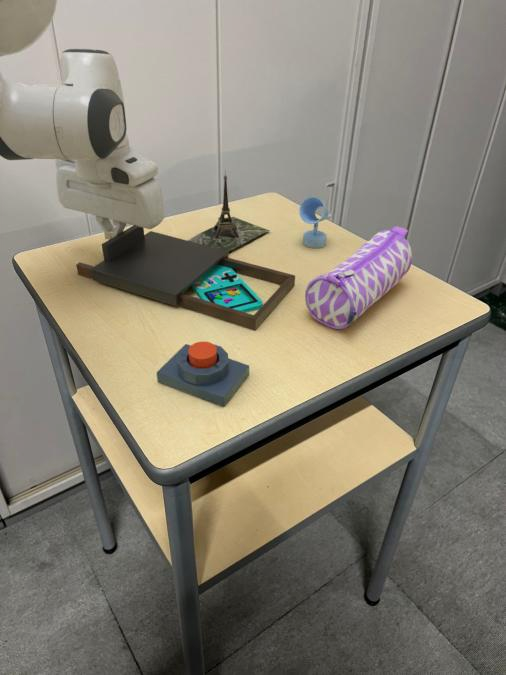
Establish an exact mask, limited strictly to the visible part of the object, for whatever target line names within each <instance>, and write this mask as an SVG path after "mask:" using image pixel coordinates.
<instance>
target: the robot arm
mask: <svg viewBox="0 0 506 675" xmlns="http://www.w3.org/2000/svg"><path fill="white" fill-rule="evenodd" d="M57 4H58V0H0V58H2V57H7V56H11V55H16V54H19V53H21V52H23V51H25V50H27V49H29V48H30V47H32V46H33V45H34V44H36V42H37V41H39V40H40V39H41V38H42V37H43V35H44V34H45V32H47V30H48V29H49V27H50V25H51V24H52V21H53V19H54V17H55V16H54V15H55V12H56V9H57ZM59 69H60V70H59V71H60V80H61V81H60V82H61V84H44V83H24V82H23V83H22V82H18V81H13V80H9V79H7V78H5V77H4V76H3V75H2V73H1V71H0V157H2V158H3V159H5V160H6V161H25V160H34V159H37V160H38V159H39V160H55V168H56V174H55V176H56V177H55V179H56V192H57V198H58V202H59V203H60V204H61V206H62V207H63V208H65V209H69V210H73V211H75V212H76V211H77V212H80V213H84V214H87V215H92V216H95V218H96V221H97V223H98V225H99V226H100V228H101V229H102V231H103V234H104V239H105V240H107V241H108V240H110V239H111V238H113V237H115V236H116V235H118V234H120V233H121V232H123V231H125V228H126V226H127V224H128V225H131V226H133V225H135V226H139V227H143V228H144V229H146V230H152V229H155V228H156V227H157V226H159V225H161V223H162V222H163V220H164V219H165V205H164V197H163V191H162V187H161V184H160V183H159V181H158V180H157V179H156V176H157V175H158V174H159V167H158V164H157V163H156V161H155V162H154V161H153V160H151V159H150V158H148V157H146V156H144V155H143V154H141V153H140V152H138V151H137V150H136V149H134V148H132V147H131V146H130V142H129V137H128V134H127V118H126V107H125V100H124V99H125V98H124V93H123V88H122V83H121V78H120V75H119V70H118V67H117V63H116V60H115V58H114V55H112V53H109V52H108V51H106V50H101V49H90V48H87V49H86V48H69V49H64V50H63V51H62V52H60V55H59ZM111 220H112V222H111ZM114 226H115V227H114Z"/></svg>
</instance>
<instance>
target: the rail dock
mask: <svg viewBox="0 0 506 675" xmlns="http://www.w3.org/2000/svg"><path fill="white" fill-rule="evenodd" d="M216 265H221V266H224V267H228V268H232V269H233V270H234V272H235V273H236V274H238V275H243V276H247V277H251V278H255V279H258V280H261V281H265V282H269V283H273V284H276V285H279V287H278V288H277V289H276V290H275V291H274V292H273V294H272V295H271V296H270V297H269V298H268V299H267V300H266V301H265V303H263V304H262V307H261V308H260V309H257V310H256V312H255V313H254V314H251V313H249V312H246V313H245V312H242V311H239V310H235V309H232V308H229V307H225V306H222V305H219V304H215V303H212V302H209V301H206V300H202V299H200V298H199V297H196V296H192V295H189V294H186V293H184V292H183V293H182V294H180V295H179V296H178V299H179V305H178V306H177V307H180V308H183V309H186V310H190V311H192V312H196V313H199V314H203V315H205V316H207V317H208V316H209V317H212V318H214V319H218V320H220V321H224V322H228V323H231V324H235V325H237V326H240V327H244V328H246V329H250V330H253V331H256V330H257V329H258V328H259V327H260V326H261V324H263V322H264V321H266V319H267V318H268V316H270V314H271V313H272V312H273V311H274V310H275V308H276V307H277V306H278V305H279V304H280V303H281V302H282V300H283V299H284V298H285V297H286V296H287V295H288V293H289V292H290V291H291V290H293V288H294V287H295V286H296V285H295V284H296V275H295V274H292V273H288V272H284V271H281V270H276V269H274V268H273V269H272V268H268V267H264V266H261V265H257V264H254V263H250V262H246V261H242V260H239V259H235V258H231V257H229V258H228V257H225V258H223V259H222V260H221V261H220V262H219V263H217V264H216ZM94 266H95V265H90V264H87V263H83V262H81V261H79V262H78V263H76V264H75V267H76V273H77V275H78V276H82V277H84V278H87V279H91V280H93V278H92V273H91V268H93V267H94Z"/></svg>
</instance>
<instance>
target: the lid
mask: <svg viewBox="0 0 506 675" xmlns="http://www.w3.org/2000/svg"><path fill="white" fill-rule="evenodd" d="M144 229H145V228H143V227H139V226H135V225H131V226H130V227H128V228H126V229H124V230H123V232H121V233H120V234H118V235H116V236H115V237H113V238H111V239H110V240H108V239H107V240H106V241H104V242H102V243H101V249H102V256H103V260H102V261H101V262H99V263H97V264H95V265H93V266H94V267H93V268H91V273H92V278H93V279H92V281H94V282H98V283H101V284H103V285H107V286H111V287H113V288H117V289H120V290H123V291H126V292H130V293H133V294H135V295H139V296H143V297H146V298H149V299H151V300H155V301H158V302H161V303H164V304H168V305H171V306H174V307H179V306H178V305H179V299H178V296H179V295H180V294H182V293H183V294H184V292H185V291H187V290H188V289H189V288H191V285H192V284H194V283H195V282H196V281H197V280H198V279H200V278H201V277H202V276H203V275H204V274H206V273H207V272H208V271H209V270H210V269H212V268H213V267H214V266H215V265H216V264H217V263H219V262H220V261H221V260H222V259H223V258H225V257H228V258H230V254H229V253H230V251H225V250H222V249H218V248H214V247H210V246H206V245H202V244H199V243H195V242H191V241H187V240H188V239H184V238H180V237H175V236H171V235H168V234H164V233H160V232H156V231H153V230H150V231H148V232H146V233H145V230H144Z"/></svg>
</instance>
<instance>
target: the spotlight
mask: <svg viewBox="0 0 506 675" xmlns="http://www.w3.org/2000/svg"><path fill="white" fill-rule="evenodd" d="M321 207H322V208H323V211H322V215H321V216H320V218H318V217H317V215H316V211H317V209H318V208H321ZM298 212H299V216H300V219H301V220H302V221H303V222H304V223H305V224H308V225H313V229H310V230H306V231H304V232H303V236H302V244H303V245H304V246H305V247H308V248H310V249H311V248H312V249H320V248H323V247H325V246H326V243H327V234H326V233H325V232H324V231H321V230H318V228H319V223H320V222H323V221H325V220H327V218H328V217H329V214H330V212H329V208H328V207H327V206H326V204H325V203H324V202H323V200H322V199H321V198H319V197H317V196H308V197H306V198H304V199H303V201H302V202H301V203H300V205H299V210H298Z"/></svg>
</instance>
